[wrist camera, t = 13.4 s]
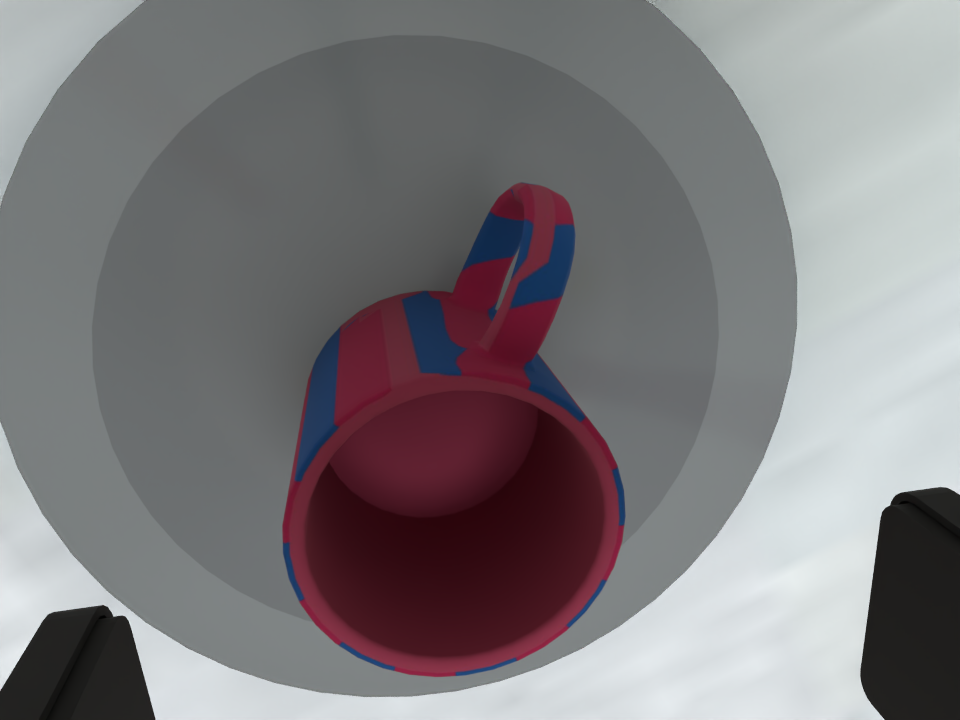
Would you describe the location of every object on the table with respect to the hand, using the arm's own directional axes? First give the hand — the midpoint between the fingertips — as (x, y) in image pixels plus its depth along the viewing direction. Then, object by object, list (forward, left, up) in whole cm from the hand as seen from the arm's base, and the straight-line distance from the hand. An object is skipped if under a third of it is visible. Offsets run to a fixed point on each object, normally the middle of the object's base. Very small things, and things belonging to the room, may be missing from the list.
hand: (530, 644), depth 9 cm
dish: (0, 0, -13) cm, 13 cm away
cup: (0, 0, -12) cm, 12 cm away
